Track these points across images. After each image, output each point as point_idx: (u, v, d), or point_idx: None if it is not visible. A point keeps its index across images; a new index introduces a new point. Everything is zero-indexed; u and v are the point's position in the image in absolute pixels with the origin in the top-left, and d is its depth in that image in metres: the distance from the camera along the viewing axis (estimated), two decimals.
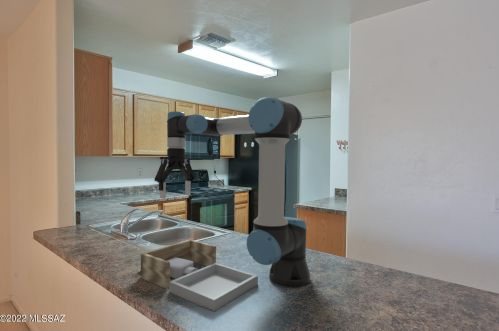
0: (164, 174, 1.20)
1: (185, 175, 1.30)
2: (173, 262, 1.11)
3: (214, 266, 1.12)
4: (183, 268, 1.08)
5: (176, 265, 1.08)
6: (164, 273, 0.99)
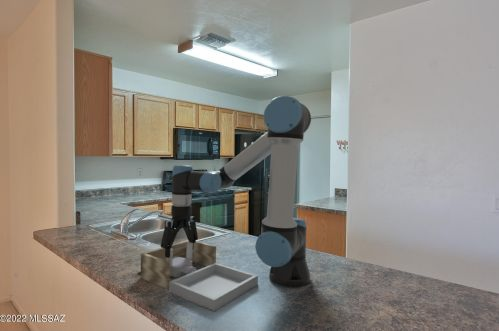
0: (170, 238, 1.08)
1: (188, 235, 1.16)
2: (172, 261, 1.13)
3: (214, 266, 1.12)
4: (181, 267, 1.09)
5: (174, 264, 1.10)
6: (164, 273, 0.99)
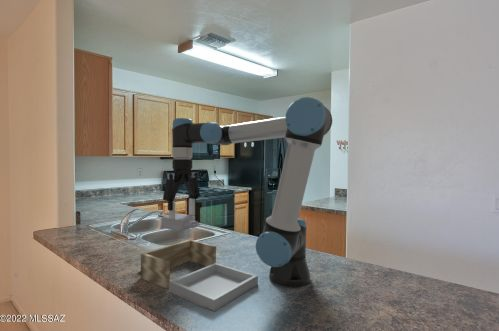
0: (172, 191, 1.08)
1: (190, 191, 1.15)
2: (175, 216, 1.12)
3: (214, 266, 1.12)
4: (184, 220, 1.08)
5: (177, 218, 1.09)
6: (164, 273, 0.99)
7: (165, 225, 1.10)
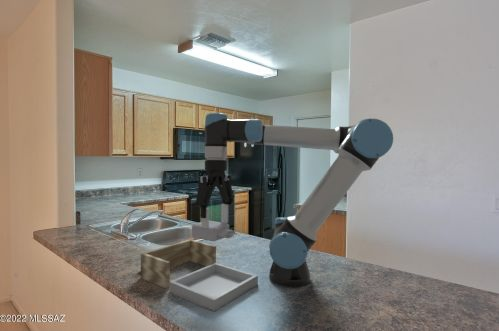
0: (205, 196, 0.95)
1: (223, 196, 1.02)
2: None
3: (214, 266, 1.12)
4: (218, 229, 0.95)
5: (210, 226, 0.96)
6: (164, 273, 0.99)
7: (196, 235, 0.97)
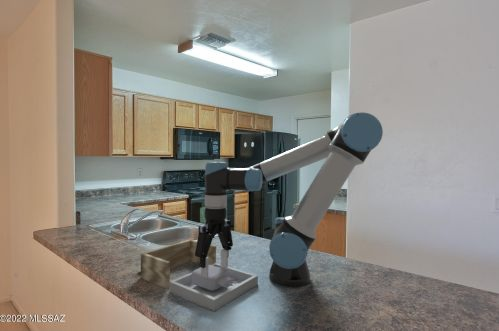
0: (205, 245, 0.95)
1: (222, 241, 1.02)
2: None
3: None
4: (217, 278, 0.95)
5: (209, 274, 0.96)
6: (164, 273, 0.99)
7: (196, 282, 0.98)
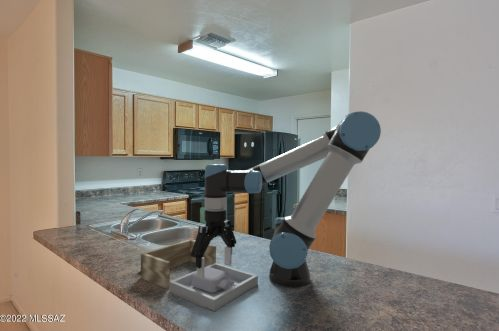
0: (202, 246, 0.94)
1: (225, 241, 1.03)
2: (206, 273, 0.99)
3: (214, 266, 1.12)
4: (217, 281, 0.96)
5: (210, 277, 0.96)
6: (164, 273, 0.99)
7: (196, 285, 0.98)
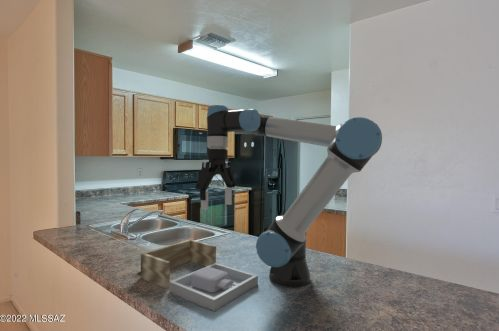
0: (206, 180, 1.00)
1: (226, 181, 1.10)
2: (206, 273, 1.00)
3: (214, 266, 1.12)
4: (217, 280, 0.96)
5: (209, 277, 0.96)
6: (164, 273, 0.99)
7: (195, 284, 0.98)
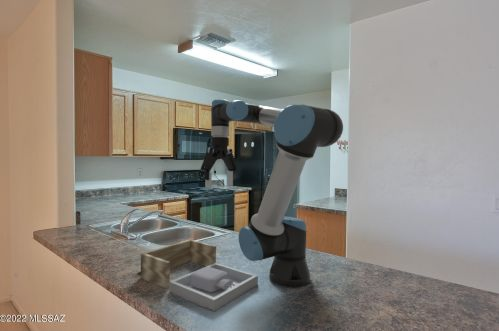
0: (209, 163, 1.18)
1: (227, 165, 1.27)
2: (205, 273, 1.00)
3: (214, 266, 1.12)
4: (216, 280, 0.96)
5: (208, 276, 0.97)
6: (164, 273, 0.99)
7: (195, 284, 0.98)
